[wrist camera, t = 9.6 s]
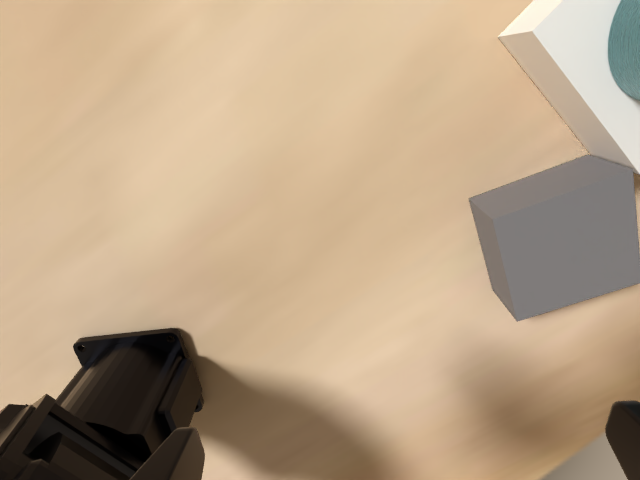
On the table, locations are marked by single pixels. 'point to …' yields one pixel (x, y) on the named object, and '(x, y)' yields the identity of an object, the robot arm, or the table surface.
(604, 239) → the grey square block
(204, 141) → the table surface
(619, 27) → the canister
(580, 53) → the pale block
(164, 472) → the robot arm
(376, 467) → the table surface
